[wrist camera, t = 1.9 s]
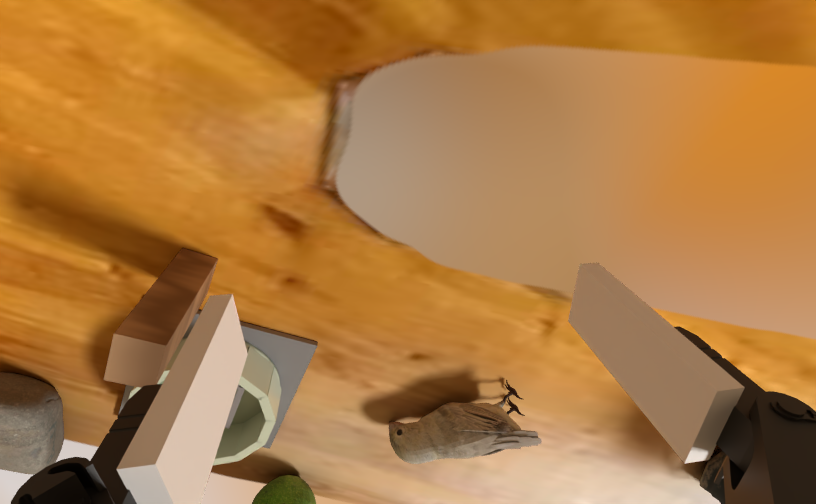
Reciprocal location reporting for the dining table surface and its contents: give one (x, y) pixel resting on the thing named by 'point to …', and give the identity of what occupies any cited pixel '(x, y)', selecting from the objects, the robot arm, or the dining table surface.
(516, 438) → the decorative bird
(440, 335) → the dining table surface
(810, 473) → the robot arm
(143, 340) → the wooden rectangular beam
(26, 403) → the stone
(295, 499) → the fruit
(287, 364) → the square base green ring
